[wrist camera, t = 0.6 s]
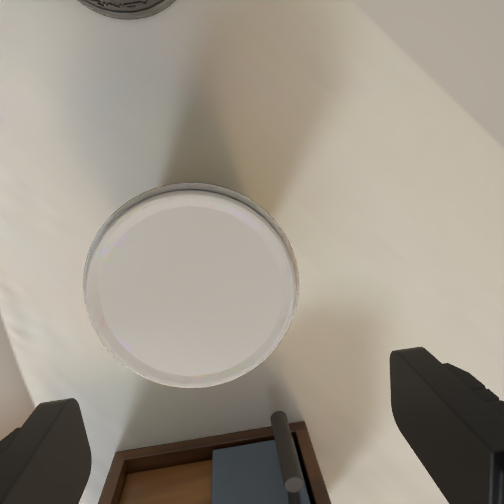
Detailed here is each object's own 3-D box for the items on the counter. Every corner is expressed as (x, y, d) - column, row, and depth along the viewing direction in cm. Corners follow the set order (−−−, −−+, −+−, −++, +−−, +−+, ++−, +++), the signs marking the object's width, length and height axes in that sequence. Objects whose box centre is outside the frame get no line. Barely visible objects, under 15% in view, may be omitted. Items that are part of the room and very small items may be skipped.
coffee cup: (137, 167, 26) (70, 177, 14) (272, 175, 27) (314, 191, 15) (138, 295, 28) (81, 394, 16) (262, 299, 29) (292, 395, 17)
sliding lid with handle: (204, 407, 29) (198, 520, 20) (288, 394, 30) (318, 499, 21) (213, 455, 30) (211, 582, 21) (293, 442, 31) (324, 561, 22)
